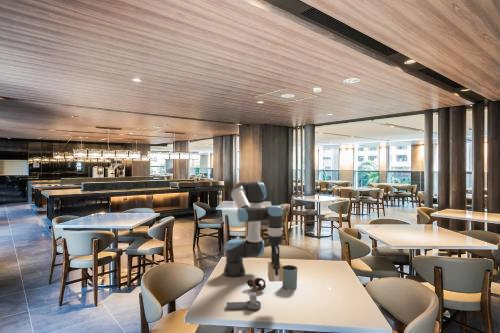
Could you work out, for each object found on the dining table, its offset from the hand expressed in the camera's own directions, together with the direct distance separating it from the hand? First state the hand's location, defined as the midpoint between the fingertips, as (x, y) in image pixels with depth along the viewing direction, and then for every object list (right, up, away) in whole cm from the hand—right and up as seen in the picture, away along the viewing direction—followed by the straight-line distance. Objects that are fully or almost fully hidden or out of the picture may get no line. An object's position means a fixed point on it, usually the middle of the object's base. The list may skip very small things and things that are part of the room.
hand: (275, 278), depth 158 cm
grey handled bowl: (-18, -15, -1) cm, 23 cm away
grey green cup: (+11, -15, +26) cm, 32 cm away
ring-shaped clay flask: (-10, -16, +22) cm, 29 cm away
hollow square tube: (0, 0, 0) cm, 0 cm away
